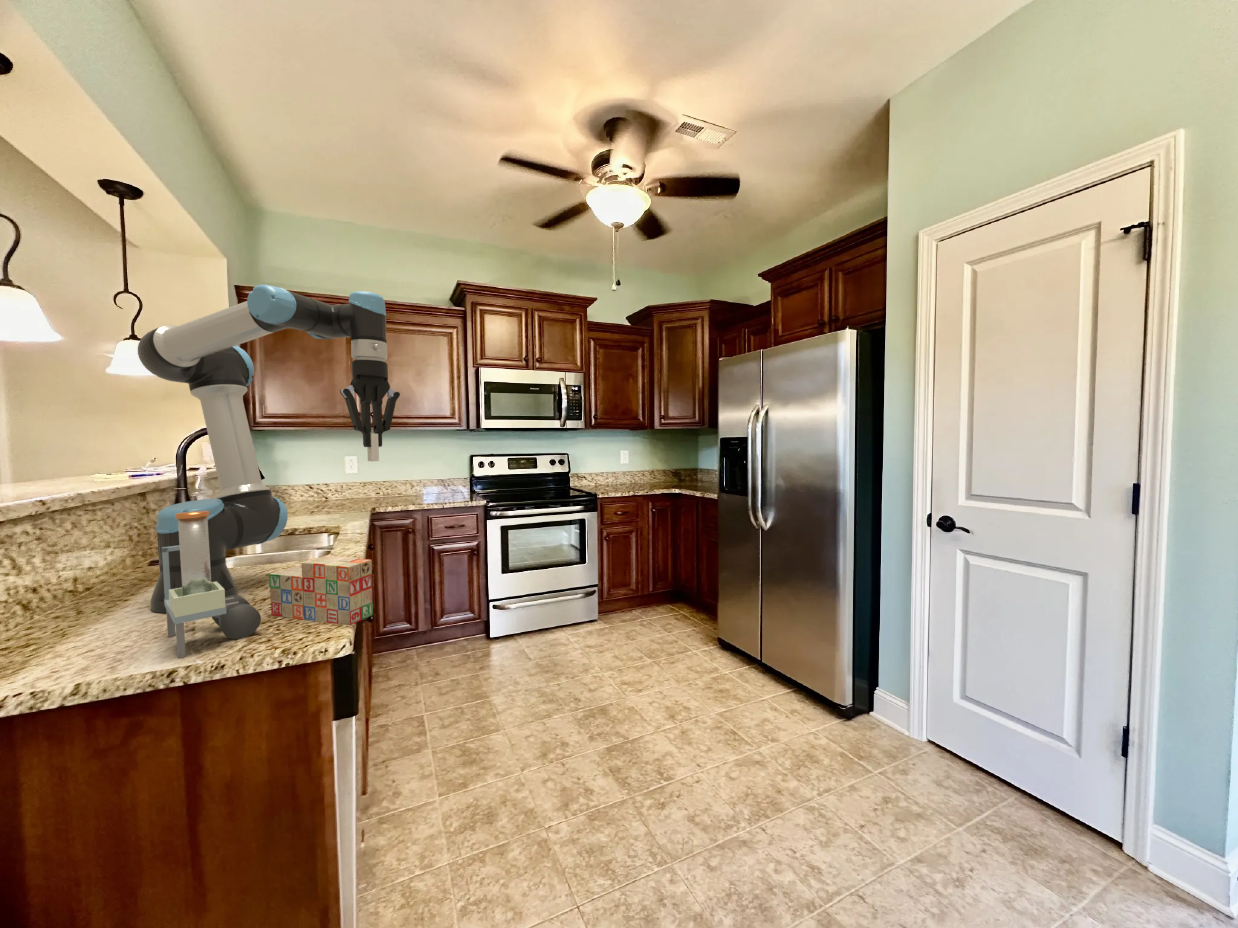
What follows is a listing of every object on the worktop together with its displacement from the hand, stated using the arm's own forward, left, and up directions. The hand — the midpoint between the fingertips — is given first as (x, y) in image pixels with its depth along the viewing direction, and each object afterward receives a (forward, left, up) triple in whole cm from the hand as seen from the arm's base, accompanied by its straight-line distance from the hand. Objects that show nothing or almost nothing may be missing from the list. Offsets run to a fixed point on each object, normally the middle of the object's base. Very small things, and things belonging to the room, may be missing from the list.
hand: (373, 461), depth 115 cm
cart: (+2, -31, -32) cm, 45 cm away
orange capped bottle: (+5, -33, -25) cm, 42 cm away
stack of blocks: (+5, -13, -33) cm, 36 cm away
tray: (+5, -34, -25) cm, 42 cm away
